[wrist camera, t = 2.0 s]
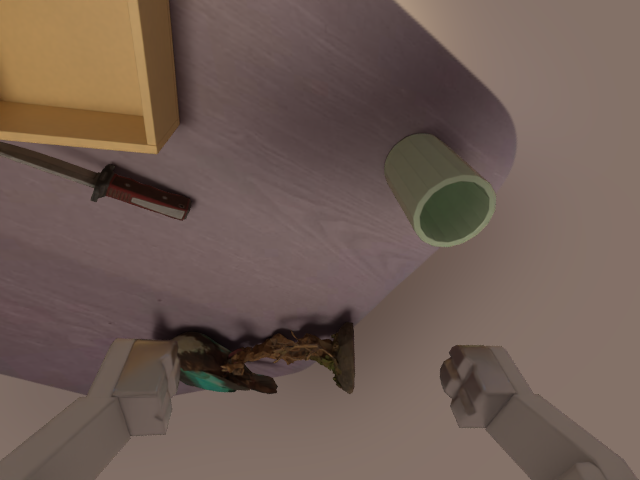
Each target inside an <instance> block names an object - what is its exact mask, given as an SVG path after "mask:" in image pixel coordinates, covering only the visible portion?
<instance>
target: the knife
mask: <svg viewBox="0 0 640 480" xmlns="http://www.w3.org/2000/svg"><path fill="white" fill-rule="evenodd" d="M0 156H3V157H6V158H8V159H11V160H13V161H16V162H19V163H22V164H25V165H28V166H31V167H34V168H37V169H39V170H42V171H45V172H48V173H51V174H54V175H57V176H60V177H63V178H66V179H69V180H72V181H75V182H78V183H80V184H83V185H86V186H89V187H92V188H94V191H93V194H92V197H91V201H94V202H97V199H98V198H101V197H104V196H108V197H112V198H115V199H118V200H121V201H124V202H127V203H129V204H132V205H135V206H138V207H141V208H144V209H147V210H150V211H154V212H157V213H160V214H163V215H165V216H168V217H171V218H174V219H178V220H182V221H183V219H186V217H187V215H188V213H189V211H190V208H191V201H190V199H189V198H187V197H184V196H181V195H177V194H172V193H168V192H165V191H162V190H159V189H157V188H155V187H152V186H150V185H146V184H141V183H139V182H137V181H135V180H133V179H131V178H127V177H123V176H119V175H117V174H115V173H114V172H113V171H114V168H115V166H113V165H110V164H108V165H107V166H106V167H105V168H104V169H103V170H102V172H101V173H100V172H98V173H96V172H93V171H90V170H87V169H84V168H82V167H79V166H76V165H73V164H70V163H68V162H65V161H62V160H59V159H56V158H53V157H50V156H47V155H44V154H41V153H38V152H35V151H32V150H29V149H25V148H22V147H18V146H15V145H11V144H7V143H3V142H0Z"/></svg>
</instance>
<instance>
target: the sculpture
mask: <svg viewBox="0 0 640 480" xmlns="http://www.w3.org/2000/svg"><path fill="white" fill-rule="evenodd" d="M291 334H292V336H293V337H295V335H294V334H293V332H292V331H291ZM331 337H332V338H334V340H333V342H332V341H331V340H330V339H324V340H321V339H319V338H318V337H316V336H314V335H311V334H308V333H306V334H305V335H304V337H303V338H300V339H297V338H296V337H295V338H296V339H297V340H298V342H297V343H295V342H293V341H292V340H289V339H287V338H286V337H285V336H283V335H281V334H280V333H278V334H275V335H273V337H272V338H271V339H270V338H268V339H267V340H265V342H264V343H262V344H258V345H255V346H254V347H253V349H252V347H246V348H244V347H242V348H239V349H236V350H235V351H233V352H231V351H229V350H228V349H226V348H224V347H223V346H221V345H219V344H218V343H216V342H215V341H213V340H212V339H210V338H209V337H208V336H206V335H204V334H201V333H198V332H186V333H182V334H180V335H178V336H176V337H174V338H173V339H172V340H173V341H177V342H178V348H179V349H178V352H177V357H178V358H180V364H181V366H180V378H179V380H180V381H182V382H183V383H185V384H186V385H190V386H195V387H199V388H202V389H206V390H212V391H217V392H235V391H236V390H250V389H251V390H255V391H258V392H262V393H267V394H273V393H277V390H276V389H277V387H278V386H277V385H276V383H275V381H274V380H273V378H271V377H269V376H265V375H259V374H255V373H252V372H251V371H250V370H249V369H248V368H247V367H246V366H245V365H244V363H245V362H247V361H257V360H259V359H260V358H264V357H268V358H272V359H277V360H276V361H274V362H273V363H276V362H278V361H279V360H280V359H283V360H285V361H286V362H287V365H289V364H290V363H293V362H294V361H296V360H303V359H304V360H305V361H306V360H309V359H311V360H315V361H317V362H318V363H320V365H324V366H325V367H327V368H328V369H329V370H331V369H332V371H333V373H334V374H335V377H333V380H334V381H335V382H336V385H337V386H338V387H339V388H342V389H343V390H344V391H346V392H347V393H349V394H351V393H352V392H353V389H354V377H355V357H354V330H353V323H349V322H346V323H345V324H344V325H343V326H342V327H341V328H340V330H339V332H338V333H337V332H336V334H333V335H331Z"/></svg>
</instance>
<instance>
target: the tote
mask: <svg viewBox="0 0 640 480" xmlns="http://www.w3.org/2000/svg"><path fill="white" fill-rule="evenodd" d="M179 125H180V122H179V111H178V99H177V88H176V76H175V65H174V53H173V42H172V30H171V19H170V7H169V0H0V140H9V141H20V142H31V143H42V144H53V145H64V146H74V147H85V148H96V149H107V150H118V151H129V152H139V153H150V154H158V153H159V151H160V150H161V149H162V147H163V146H164V145H165V143H166V142H167V141H168V139H169V138H170V137H171V135H172V134H173V133H174V131H175V130H176V129H177V127H178V126H179Z"/></svg>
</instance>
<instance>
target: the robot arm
mask: <svg viewBox="0 0 640 480" xmlns="http://www.w3.org/2000/svg"><path fill="white" fill-rule="evenodd" d="M178 349H179V348H178V342H177V341H173V340H150V339H121V338H116V340H115V341H114V342H113V343H112V344H111V346H110V348H109V350H108V352H107V354H106V356H105V358H104V361H103V363H102V365H101V367H100V369H99V371H98V373H97V375H96V377H95V379H94V381H93V384H92V386H91V388H90V390H89V392H88V394H87V396H86V397H79V398H78V399H77V400H75V401H74V402H73V403H72V404H70V405H69V406H68V407H67V408H65V409H64V410H63V411H62V412H61V413H59V414H58V415H57V416H56V417H54V418H53V419H52V420H51V421H49V422H48V423H47V424H46V425H44V426H43V427H42V428H41V429H39V430H38V431H37V432H36V433H34V434H33V435H32V436H31V437H29V438H28V439H27V440H26V441H24V442H23V443H22V444H21V445H20V446H18V447H17V448H16V449H15V450H13V451H12V452H11V453H10V454H8V455H7V456H6V457H5V458H3V459H2V460H1V461H0V480H95V479H96V478H97V476H98V475H99V474H100V473H101V472H102V471H103V470H104V468H105V467H106V466H107V465H108V464H109V463H110V461H111V460H112V459H113V458H114V457H115V456H116V455H117V453H118V452H119V451H120V450H121V449H122V448H123V447H124V445H125V444H126V443H127V442H128V441H129V440H130V436H143V435H162V434H163V435H164V434H166V431H167V427H168V424H169V420H170V416H171V412H172V405H171V398H172V397H173V396H174V395H175V394H176V393H177V388H178V384H179V378H180V366H181V364H180V358H178V357H177V352H178ZM449 354H450V356H451V357H450V358H449V359H447V360H446V361H444V362H443V364H442V367H441V369H440V379H441V384H442V386H443V389H444V392H445V393H446V394H447V395H448V396H449V397H450V398H452V402H451V405H450V407H451V409H452V411H453V414H454V416H455V418H456V421H457V423H458V426H459V428H486V431H487V432H488V433H489V434H490V435H491V436H492V437H493V438H494V440H495V441H496V442H497V443H498V444H499V445H500V446H501V447H502V448H503V449H504V450H505V451H506V453H507V454H508V455H509V456H510V457H511V458H512V459H513V460H514V461H515V462H516V463H517V464H518V466H519V467H520V468H521V469H522V470H523V471H524V472H525V473H526V474H527V475H528V477H530V479H531V480H638V479H637V477H636V476H635V474H634V473H633V472H632V470H631V469H630V467H629V466H628V465H627V463H626V462H625V461H624V459H622V458H621V457H620V456H618V455H617V454H616V453H614V452H613V451H612V450H610V449H609V448H608V447H607V446H605V445H604V444H603V443H601V442H600V441H599V440H598V439H596V438H595V437H594V436H592V435H591V434H590V433H588V432H587V431H586V430H584V429H583V428H582V427H581V426H579V425H578V424H577V423H575V422H574V421H573V420H571V419H570V418H569V417H568V416H566V415H565V414H564V413H562V412H561V411H560V410H558V409H557V408H556V407H555V406H553V405H552V404H551V403H549V402H548V401H547V400H545V399H544V398H543V397H541V396H540V395H539V394H534V393H533V392H532V390H531V388H530V387H529V385H528V384H527V382H526V380H525V379H524V377H523V376H522V374H521V373H520V371H519V370H518V368H517V366H516V365H515V363H514V362H513V360H512V358H511V357H510V355H509V354H508V352H507V351H506V350H505V349H504V348H503V347H502V346H484V345H456V346H454V347H452V348H451V350H450V352H449Z"/></svg>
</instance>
